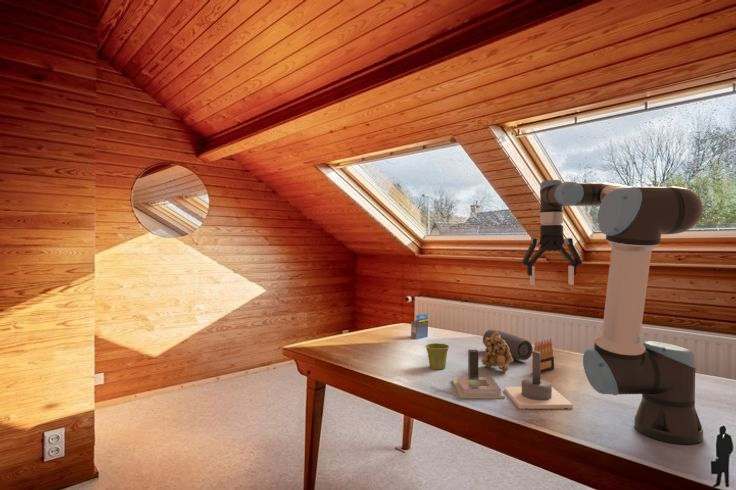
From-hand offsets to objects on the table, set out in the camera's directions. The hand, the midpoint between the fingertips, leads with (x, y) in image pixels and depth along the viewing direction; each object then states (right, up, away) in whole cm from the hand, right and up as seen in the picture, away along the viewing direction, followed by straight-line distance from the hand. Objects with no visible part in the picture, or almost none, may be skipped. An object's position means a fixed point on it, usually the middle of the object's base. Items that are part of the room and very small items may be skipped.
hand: (551, 284), depth 158 cm
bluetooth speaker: (-5, -34, +35) cm, 49 cm away
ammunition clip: (+3, -35, +14) cm, 37 cm away
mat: (-28, -35, -6) cm, 45 cm away
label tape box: (-38, -34, +72) cm, 88 cm away
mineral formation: (-14, -35, +16) cm, 41 cm away
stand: (-11, -35, -15) cm, 40 cm away
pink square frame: (-28, -34, -6) cm, 45 cm away
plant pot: (-37, -35, +20) cm, 55 cm away
